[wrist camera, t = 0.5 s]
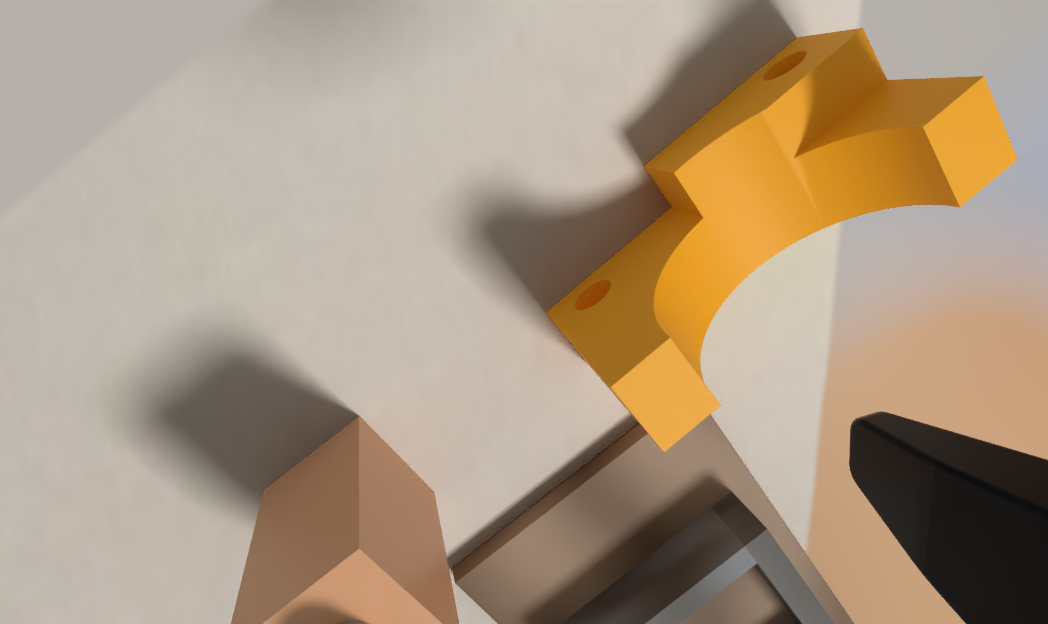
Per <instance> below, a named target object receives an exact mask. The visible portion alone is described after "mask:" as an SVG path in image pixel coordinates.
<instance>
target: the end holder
mask: <svg viewBox="0 0 1048 624" xmlns="http://www.w3.org/2000/svg"><path fill="white" fill-rule="evenodd" d="M452 569H453V574H454V579H455V583H456V584H457V585H458V586H459V587H460V588H461V589H462V590H463V591H464V592H465V593H466V594H467V595H468V596H469V597H471V598H472V599H473V600H474V601H475V602H476V603H477V604H478V605H479V606H480V607H481V608H482V609H483V610H484V611H485V612H486V613H487V614H488V615H489V616H490V617H492V618H493V619H494V620H495V621H496V622H497V623H498V624H854V623H853V621H852V620H851V618H850V617H849V615H848V614H847V613H846V611H845V610H844V608H843V607H842V605H841V604H840V602H839V601H838V599H837V598H836V597H835V595H834V594H833V592H832V591H831V589H830V588H829V586H828V585H827V583H826V582H825V581H824V579H823V578H822V576H821V575H820V573H819V572H818V570H817V569H816V567H815V566H814V564H813V563H812V562H811V560H810V559H809V557H808V556H807V554H806V553H805V551H804V550H803V548H802V547H801V546H800V544H799V543H798V541H797V540H796V538H795V537H794V535H793V534H792V532H791V531H790V530H789V528H788V527H787V525H786V524H785V522H784V521H783V519H782V518H781V516H780V515H779V513H778V512H777V511H776V509H775V508H774V506H773V505H772V503H771V502H770V500H769V499H768V497H767V496H766V495H765V493H764V492H763V490H762V489H761V487H760V486H759V484H758V483H757V481H756V480H755V479H754V477H753V476H752V474H751V473H750V471H749V470H748V468H747V467H746V465H745V464H744V463H743V461H742V460H741V458H740V457H739V455H738V454H737V452H736V451H735V449H734V448H733V447H732V445H731V444H730V442H729V441H728V439H727V438H726V436H725V435H724V433H723V432H722V430H721V429H720V428H719V426H718V425H717V423H716V422H715V420H714V419H713V417H712V416H711V414H710V415H709V416H707V417H706V418H705V419H704V420H703V421H701V422H700V423H699V424H698V425H697V426H695V427H694V428H693V429H692V430H691V431H689V432H688V433H687V434H686V435H684V436H683V437H682V438H681V439H680V440H678V441H677V442H676V443H675V444H674V445H672V446H671V447H670V448H669V449H668V450H666V451H665V452H664V451H663V450H662V449H661V448H660V447H659V446H658V445H657V443H656V442H655V441H654V440H653V439H652V438H651V436H650V435H649V434H648V433H647V432H646V431H645V429H644V428H643V427H642V426H641V425H640V424H638V425H637V426H635V427H634V428H633V429H631V430H630V431H629V432H628V433H626V434H625V435H624V436H622V437H621V438H620V439H619V440H617V441H616V442H615V443H613V444H612V445H611V446H610V447H608V448H607V449H606V450H604V451H603V452H602V453H600V454H599V455H598V456H597V457H595V458H594V459H593V460H591V461H590V462H589V463H588V464H586V465H585V466H584V467H582V468H581V469H580V470H579V471H577V472H576V473H575V474H573V475H572V476H571V477H570V478H568V479H567V480H566V481H564V482H563V483H562V484H561V485H559V486H558V487H557V488H555V489H554V490H553V491H552V492H550V493H549V494H548V495H546V496H545V497H544V498H542V499H541V500H540V501H539V502H537V503H536V504H535V505H533V506H532V507H531V508H530V509H528V510H527V511H526V512H524V513H523V514H522V515H521V516H519V517H518V518H517V519H515V520H514V521H513V522H512V523H510V524H509V525H508V526H506V527H505V528H504V529H503V530H501V531H500V532H499V533H497V534H496V535H495V536H494V537H492V538H491V539H490V540H488V541H487V542H486V543H484V544H483V545H482V546H481V547H479V548H478V549H477V550H475V551H474V552H473V553H472V554H470V555H469V556H468V557H466V558H465V559H464V560H463V561H461V562H460V563H459V564H457V565H456V566H455V567H454V568H452Z"/></svg>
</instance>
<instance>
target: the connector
mask: <svg viewBox="0 0 1048 624" xmlns="http://www.w3.org/2000/svg"><path fill="white" fill-rule="evenodd" d="M231 624H459V620H458V615H457V610H456V604H455V599H454V594H453V589H452V583H451V578H450V573H449V568H448V562H447V557H446V552H445V547H444V541H443V536H442V531H441V526H440V520H439V515H438V510H437V505H436V499H435V494H434V491H433V490H432V489H431V488H430V487H429V486H428V485H427V484H426V483H425V482H424V481H423V480H422V479H421V478H420V477H419V476H418V475H417V474H416V473H415V472H414V471H413V470H412V469H411V468H410V467H409V466H408V465H407V464H406V463H405V462H404V461H403V460H402V459H401V458H400V457H399V456H398V455H397V454H396V453H395V452H394V451H393V449H392V448H391V447H390V446H389V445H388V444H387V443H386V442H385V441H384V440H383V439H382V438H381V437H380V436H379V435H378V434H377V433H376V432H375V431H374V430H373V429H372V428H371V427H370V426H369V425H368V424H367V423H366V422H365V421H364V420H363V419H362V418H361V417H360V416H358V417H357V418H356V419H354V420H353V421H352V422H350V423H349V424H348V425H347V426H345V427H344V428H343V429H341V430H340V431H339V432H338V433H336V434H335V435H334V436H332V437H331V438H330V439H329V440H327V441H326V442H325V443H323V444H322V445H321V446H320V447H318V448H317V449H316V450H314V451H313V452H312V453H311V454H309V455H308V456H307V457H305V458H304V459H303V460H302V461H300V462H299V463H298V464H296V465H295V466H294V467H293V468H291V469H290V470H289V471H287V472H286V473H285V474H284V475H282V476H281V477H280V478H278V479H277V480H276V481H275V482H273V483H272V484H271V485H269V486H268V487H267V488H266V489H264V491H263V495H262V500H261V504H260V508H259V512H258V516H257V520H256V524H255V528H254V532H253V536H252V540H251V544H250V548H249V553H248V557H247V561H246V565H245V569H244V573H243V577H242V581H241V585H240V589H239V593H238V597H237V601H236V605H235V610H234V614H233V618H232V622H231Z"/></svg>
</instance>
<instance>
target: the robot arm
mask: <svg viewBox="0 0 1048 624" xmlns="http://www.w3.org/2000/svg"><path fill="white" fill-rule="evenodd" d="M849 465H850V471H851V474H852V477H853V479H854V480H855V482H856V484H857V485H858V487H859V488H860V489H861V491H862V492H863V493H864V495H865V496H866V498H867V499H868V500H869V502H870V503H871V505H872V506H873V507H874V509H875V510H876V511H877V513H878V514H879V516H880V517H881V518H882V520H883V521H884V522H885V524H886V525H887V526H888V528H889V529H890V531H891V532H892V533H893V535H894V536H895V538H896V539H897V540H898V542H899V543H900V544H901V546H902V547H903V549H904V550H905V551H906V553H907V554H908V555H909V557H910V558H911V560H912V561H913V562H914V563H915V565H916V566H917V567H918V569H919V570H920V571H921V573H922V574H923V575H924V576H925V577H926V579H927V580H928V581H929V582H930V583H931V585H932V586H933V587H934V588H935V589H936V590H937V592H938V593H939V594H940V595H941V596H942V597H943V598H944V599H945V601H946V602H947V603H948V604H949V605H950V606H951V607H952V609H954V611H955V612H956V613H957V614H958V615H959V616H960V618H961V619H962V620H963V621H964V622H965V623H966V624H1048V460H1046V459H1042V458H1039V457H1036V456H1033V455H1029V454H1026V453H1022V452H1019V451H1016V450H1012V449H1008V448H1006V447H1002V446H999V445H995V444H992V443H989V442H985V441H982V440H978V439H975V438H972V437H968V436H965V435H961V434H958V433H954V432H951V431H948V430H944V429H941V428H938V427H934V426H931V425H928V424H924V423H920V422H917V421H914V420H911V419H907V418H904V417H900V416H897V415H894V414H890V413H887V412H875V413H872V414H869V415H865V416H862V417H859V418H857V419H855V420H854V421H853V422H852V425H851V430H850V460H849Z"/></svg>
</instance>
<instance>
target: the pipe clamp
mask: <svg viewBox="0 0 1048 624" xmlns="http://www.w3.org/2000/svg"><path fill="white" fill-rule="evenodd" d="M1016 160H1017V157H1016V154H1015V152H1014V149H1013V147H1012V145H1011V142H1010V140H1009V137H1008V135H1007V132H1006V130H1005V128H1004V125H1003V122H1002V120H1001V118H1000V115H999V112H998V110H997V108H996V105H995V103H994V100H993V98H992V95H991V93H990V90H989V88H988V85H987V83H986V80H985V78H984V76H981V77H980V76H979V77H955V78H929V79H904V80H887V78H886V76H885V74H884V72H883V70H882V68H881V66H880V64H879V61H878V59H877V57H876V55H875V53H874V51H873V49H872V47H871V45H870V43H869V40H868V38H867V36H866V34H865V32H864V30H863V28H860V29H853V30H846V31H839V32H832V33H825V34H819V35H812V36H805V37H798V38H796V39H795V40H793V41H792V42H791V43H790V44H789V45H787V46H786V47H785V48H784V49H783V50H782V51H780V52H779V53H778V54H777V55H776V56H774V57H773V58H772V59H771V60H770V61H768V62H767V63H766V64H765V65H764V66H762V67H761V68H760V69H759V70H758V71H756V72H755V73H754V74H753V75H752V76H751V77H749V78H748V79H747V80H746V81H745V82H743V83H742V84H741V85H740V86H739V87H737V88H736V89H735V90H734V91H733V92H731V93H730V94H729V95H728V96H727V97H725V98H724V99H723V100H722V101H721V102H720V103H718V104H717V105H716V106H715V107H714V108H712V109H711V110H710V111H709V112H708V113H706V114H705V115H704V116H703V117H702V118H700V119H699V120H698V121H697V122H696V123H694V124H693V125H692V126H691V127H690V128H689V129H687V130H686V131H685V132H684V133H683V134H681V135H680V136H679V137H678V138H677V139H675V140H674V141H673V142H672V143H671V144H669V145H668V146H667V147H666V148H665V149H664V150H662V151H661V152H660V153H659V154H658V155H656V156H655V157H654V158H653V159H652V160H650V161H649V162H648V163H647V164H646V165H644V167H645V168H646V170H647V171H648V173H649V174H650V176H651V177H652V179H653V180H654V182H655V183H656V185H657V186H658V188H659V189H660V191H661V192H662V194H663V195H664V197H665V198H666V200H667V201H668V202H669V204H670V205H671V208H670V209H669V210H668V211H666V212H665V213H664V214H663V215H662V216H660V217H659V218H658V219H657V220H656V221H654V222H653V223H652V224H651V225H650V226H648V227H647V228H646V229H645V230H644V231H642V232H641V233H640V234H639V235H638V236H636V237H635V238H634V239H633V240H632V241H631V242H629V243H628V244H627V245H626V246H625V247H623V248H622V249H621V250H620V251H619V252H617V253H616V254H615V255H614V256H613V257H611V258H610V259H609V260H608V261H607V262H605V263H604V264H603V265H602V266H601V267H599V268H598V269H597V270H596V271H595V272H593V273H592V274H591V275H590V276H589V277H587V278H586V279H585V280H584V281H583V282H582V283H580V284H579V285H578V286H577V287H576V288H574V289H573V290H572V291H571V292H570V293H568V294H567V295H566V296H565V297H564V298H562V299H561V300H560V301H559V302H558V303H556V304H555V305H554V306H553V307H552V308H550V309H549V310H548V311H547V312H546V314H547V315H548V316H549V318H550V319H551V320H552V321H553V322H554V324H555V325H556V326H557V327H558V328H559V330H560V331H561V332H562V333H563V334H564V336H565V337H566V338H567V339H568V340H569V342H570V343H571V344H572V345H573V346H574V348H575V349H576V350H577V351H578V352H579V354H580V355H581V356H582V357H583V359H584V360H585V361H586V362H587V363H588V365H589V366H590V367H591V368H592V369H593V370H594V371H595V373H596V374H597V375H598V376H599V377H600V378H601V380H602V381H603V382H604V383H605V384H606V385H607V387H608V388H609V389H610V390H611V391H612V392H613V393H614V395H615V396H616V397H617V398H618V399H619V400H620V402H621V403H622V404H623V405H624V406H625V407H626V409H627V410H628V411H629V412H630V413H631V414H632V416H633V417H634V418H635V419H636V420H637V421H638V422H639V424H640V425H641V426H642V427H643V428H644V429H645V431H646V432H647V433H648V434H649V435H650V436H651V438H652V439H653V440H654V441H655V442H656V443H657V445H658V446H659V447H660V448H661V449H662V450H663V451H664V452H665V451H666V450H668V449H669V448H670V447H671V446H672V445H674V444H675V443H676V442H677V441H678V440H680V439H681V438H682V437H683V436H684V435H686V434H687V433H688V432H689V431H691V430H692V429H693V428H694V427H695V426H697V425H698V424H699V423H700V422H701V421H703V420H704V419H705V418H706V417H707V416H709V415H710V414H711V413H712V412H713V411H715V410H716V409H717V408H718V407H719V406H721V405H720V404H719V402H718V401H717V400H716V398H715V397H714V396H713V394H712V393H711V392H710V390H709V389H708V388H707V386H706V385H705V383H704V381H703V378H702V374H701V367H700V354H701V348H702V343H703V340H704V337H705V334H706V331H707V329H708V327H709V324H710V322H711V321H712V319H713V317H714V315H715V314H716V312H717V311H718V309H719V308H720V306H721V305H722V303H723V302H724V301H725V300H726V298H727V297H728V296H729V295H730V293H731V292H732V291H733V290H734V289H735V288H736V287H737V286H738V285H739V284H740V283H741V282H742V281H743V280H744V279H745V278H746V277H747V276H748V275H749V274H751V273H752V272H753V271H754V270H755V269H757V268H758V267H759V266H760V265H762V264H763V263H764V262H766V261H767V260H768V259H770V258H771V257H772V256H774V255H775V254H777V253H778V252H780V251H782V250H783V249H785V248H786V247H788V246H790V245H791V244H793V243H795V242H797V241H798V240H800V239H802V238H804V237H806V236H808V235H810V234H812V233H814V232H816V231H819V230H821V229H823V228H825V227H828V226H830V225H833V224H835V223H838V222H841V221H844V220H846V219H849V218H852V217H856V216H859V215H862V214H866V213H870V212H874V211H879V210H883V209H889V208H895V207H902V206H912V205H948V206H955V207H961V206H962V205H963V204H964V203H965V202H967V201H968V200H969V199H970V198H971V197H973V196H974V195H975V194H976V193H978V192H979V191H980V190H981V189H982V188H984V187H985V186H986V185H987V184H988V183H990V182H991V181H992V180H993V179H994V178H996V177H997V176H998V175H999V174H1000V173H1002V172H1003V171H1004V170H1005V169H1006V168H1008V167H1009V166H1010V165H1011V164H1012V163H1014V162H1015V161H1016Z"/></svg>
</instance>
